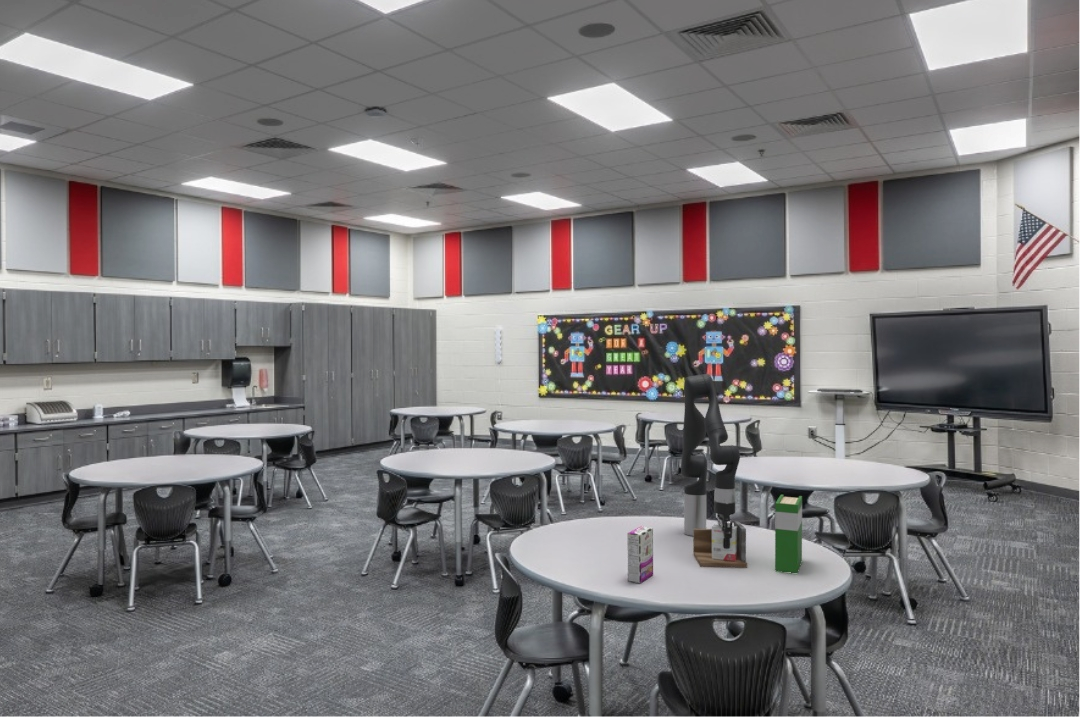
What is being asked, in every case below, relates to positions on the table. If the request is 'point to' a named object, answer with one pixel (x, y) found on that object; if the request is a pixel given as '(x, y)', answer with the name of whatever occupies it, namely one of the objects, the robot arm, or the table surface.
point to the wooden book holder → (704, 548)
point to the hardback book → (788, 534)
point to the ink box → (717, 544)
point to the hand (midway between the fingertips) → (724, 545)
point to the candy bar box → (640, 554)
